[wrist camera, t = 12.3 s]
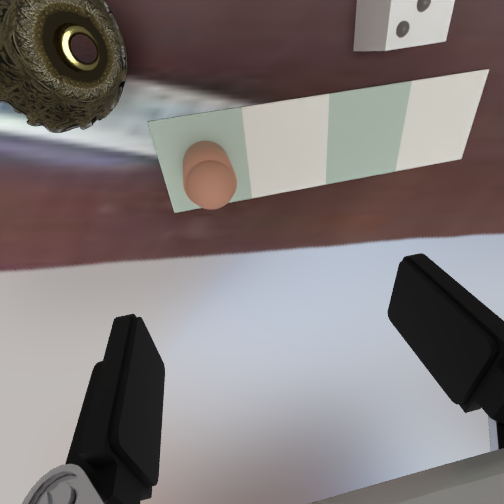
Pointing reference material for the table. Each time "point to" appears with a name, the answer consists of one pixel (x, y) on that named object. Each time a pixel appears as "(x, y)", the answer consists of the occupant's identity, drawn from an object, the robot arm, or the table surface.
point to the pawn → (208, 175)
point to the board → (327, 135)
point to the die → (400, 23)
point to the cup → (60, 62)
